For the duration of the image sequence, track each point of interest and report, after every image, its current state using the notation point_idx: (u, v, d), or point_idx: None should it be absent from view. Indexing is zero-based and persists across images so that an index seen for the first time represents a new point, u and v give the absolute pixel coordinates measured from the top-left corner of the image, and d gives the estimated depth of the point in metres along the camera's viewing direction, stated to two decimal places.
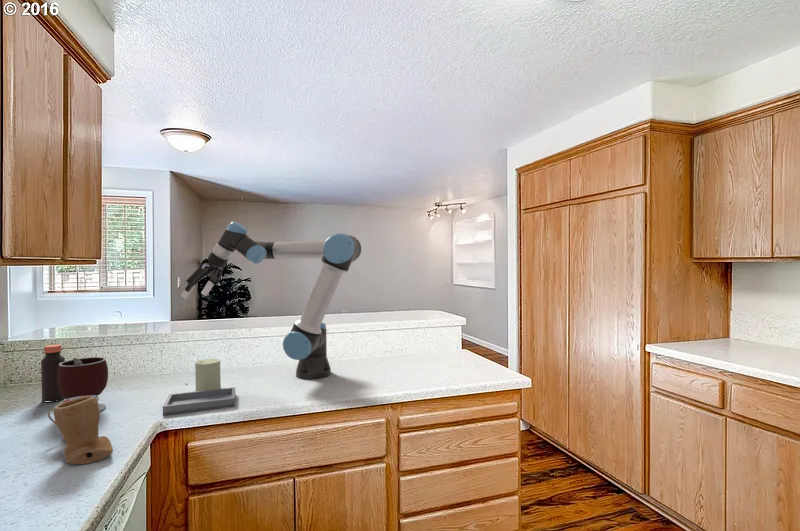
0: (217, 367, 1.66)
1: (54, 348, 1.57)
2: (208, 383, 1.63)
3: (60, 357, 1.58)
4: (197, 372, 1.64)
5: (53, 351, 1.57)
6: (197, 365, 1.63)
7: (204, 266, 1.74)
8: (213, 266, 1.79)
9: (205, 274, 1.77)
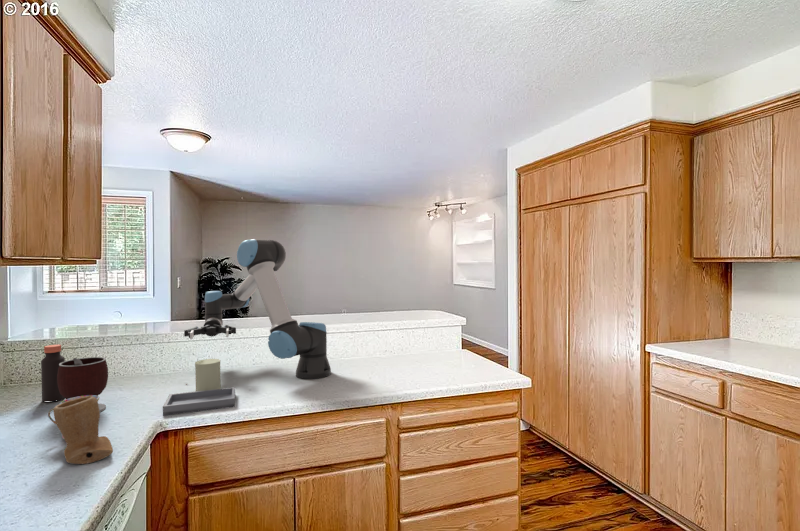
0: (217, 367, 1.66)
1: (54, 348, 1.57)
2: (208, 383, 1.63)
3: (60, 357, 1.58)
4: (197, 372, 1.64)
5: (53, 351, 1.57)
6: (197, 365, 1.63)
7: None
8: None
9: None
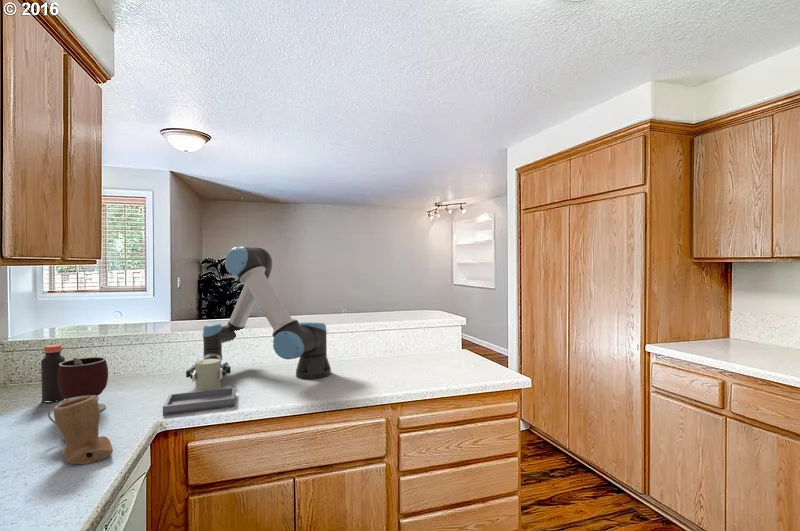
0: (217, 367, 1.66)
1: (54, 348, 1.57)
2: (208, 383, 1.63)
3: (60, 357, 1.58)
4: (197, 372, 1.64)
5: (53, 351, 1.57)
6: (197, 365, 1.63)
7: None
8: None
9: None
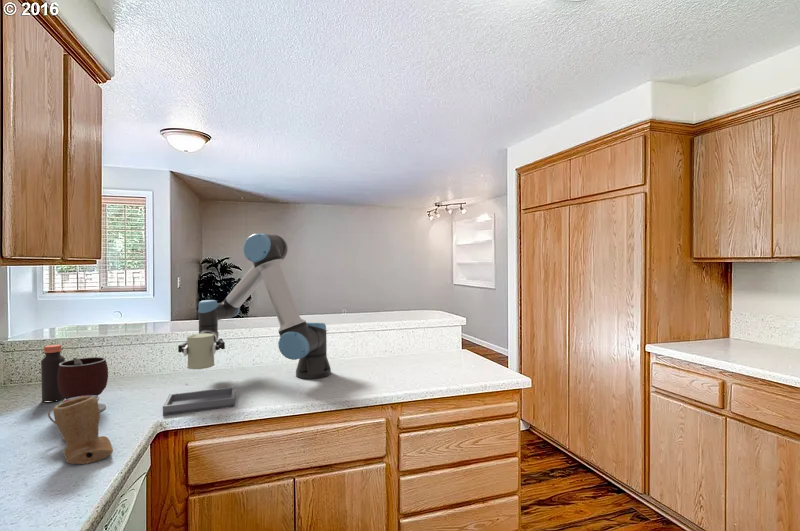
0: (210, 341, 1.59)
1: (54, 348, 1.57)
2: (201, 357, 1.56)
3: (60, 357, 1.58)
4: (189, 346, 1.56)
5: (53, 351, 1.57)
6: (189, 339, 1.56)
7: None
8: None
9: None
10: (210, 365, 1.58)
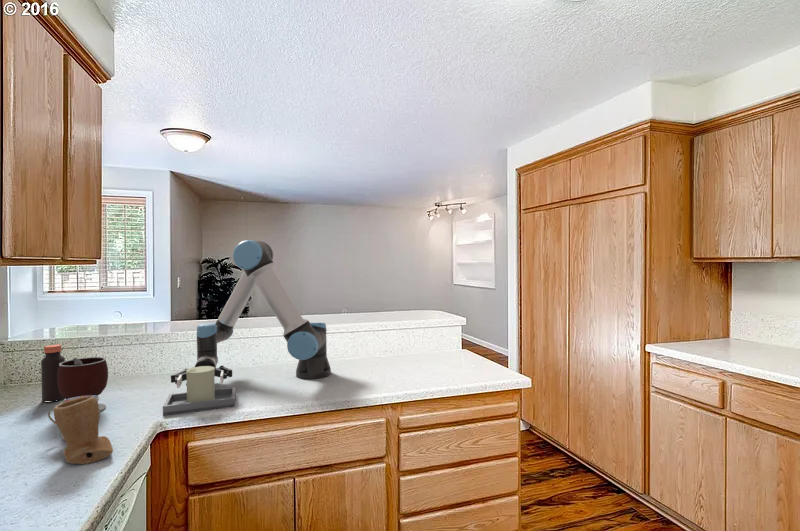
0: (211, 376, 1.50)
1: (54, 348, 1.57)
2: (201, 394, 1.47)
3: (60, 357, 1.58)
4: (188, 381, 1.47)
5: (53, 351, 1.57)
6: (188, 373, 1.47)
7: None
8: None
9: None
10: None
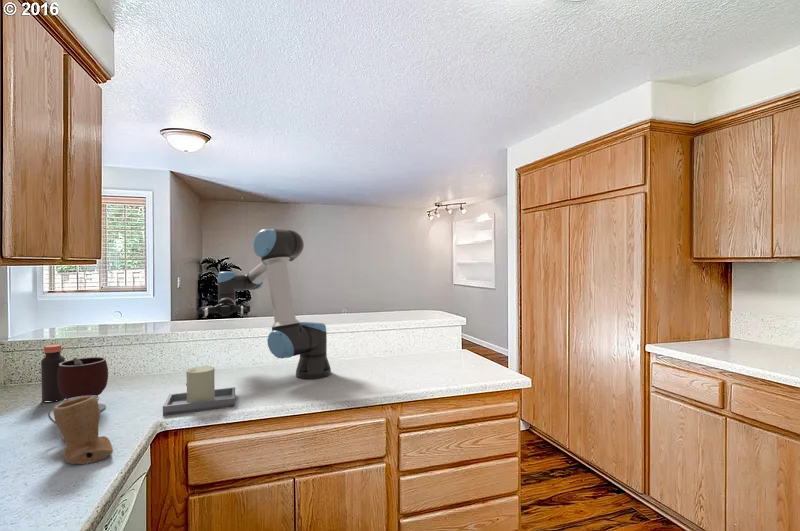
0: (211, 376, 1.50)
1: (54, 348, 1.57)
2: (201, 393, 1.47)
3: (60, 357, 1.58)
4: (188, 381, 1.47)
5: (53, 351, 1.57)
6: (188, 373, 1.47)
7: None
8: None
9: (214, 306, 1.84)
10: None
